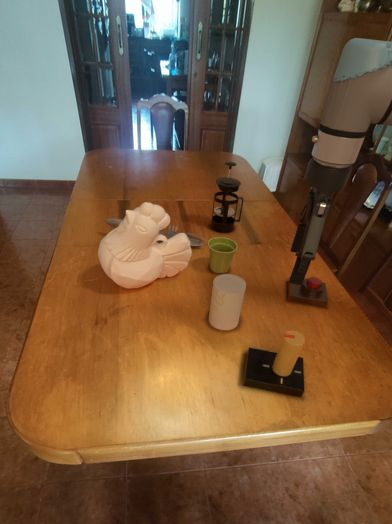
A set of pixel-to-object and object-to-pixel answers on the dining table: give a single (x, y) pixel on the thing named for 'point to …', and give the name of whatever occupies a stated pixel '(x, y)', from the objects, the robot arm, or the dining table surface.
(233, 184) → the french press
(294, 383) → the dimmer
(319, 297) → the switch block
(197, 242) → the spaceship
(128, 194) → the dining table surface
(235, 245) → the plant pot
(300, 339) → the dimmer knob
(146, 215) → the decorative rooster
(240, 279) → the cup
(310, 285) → the button
